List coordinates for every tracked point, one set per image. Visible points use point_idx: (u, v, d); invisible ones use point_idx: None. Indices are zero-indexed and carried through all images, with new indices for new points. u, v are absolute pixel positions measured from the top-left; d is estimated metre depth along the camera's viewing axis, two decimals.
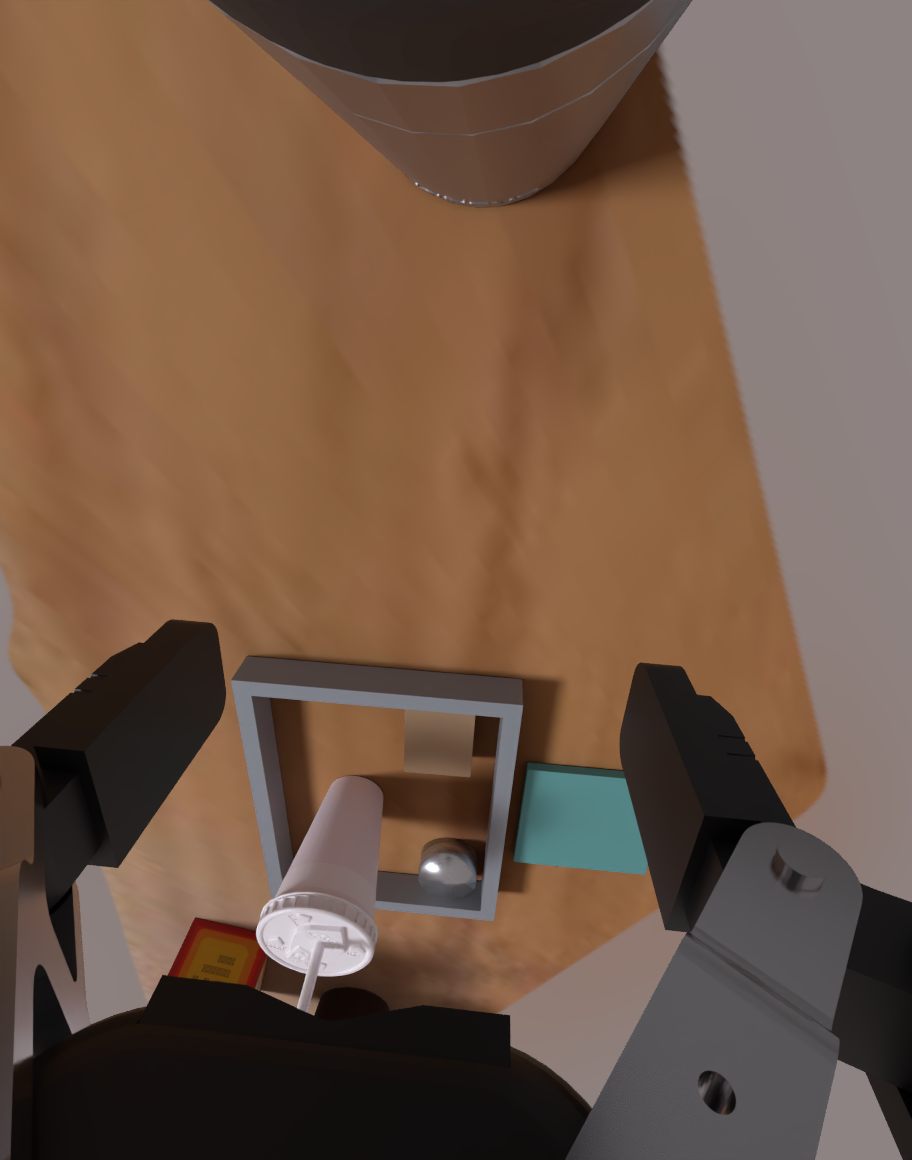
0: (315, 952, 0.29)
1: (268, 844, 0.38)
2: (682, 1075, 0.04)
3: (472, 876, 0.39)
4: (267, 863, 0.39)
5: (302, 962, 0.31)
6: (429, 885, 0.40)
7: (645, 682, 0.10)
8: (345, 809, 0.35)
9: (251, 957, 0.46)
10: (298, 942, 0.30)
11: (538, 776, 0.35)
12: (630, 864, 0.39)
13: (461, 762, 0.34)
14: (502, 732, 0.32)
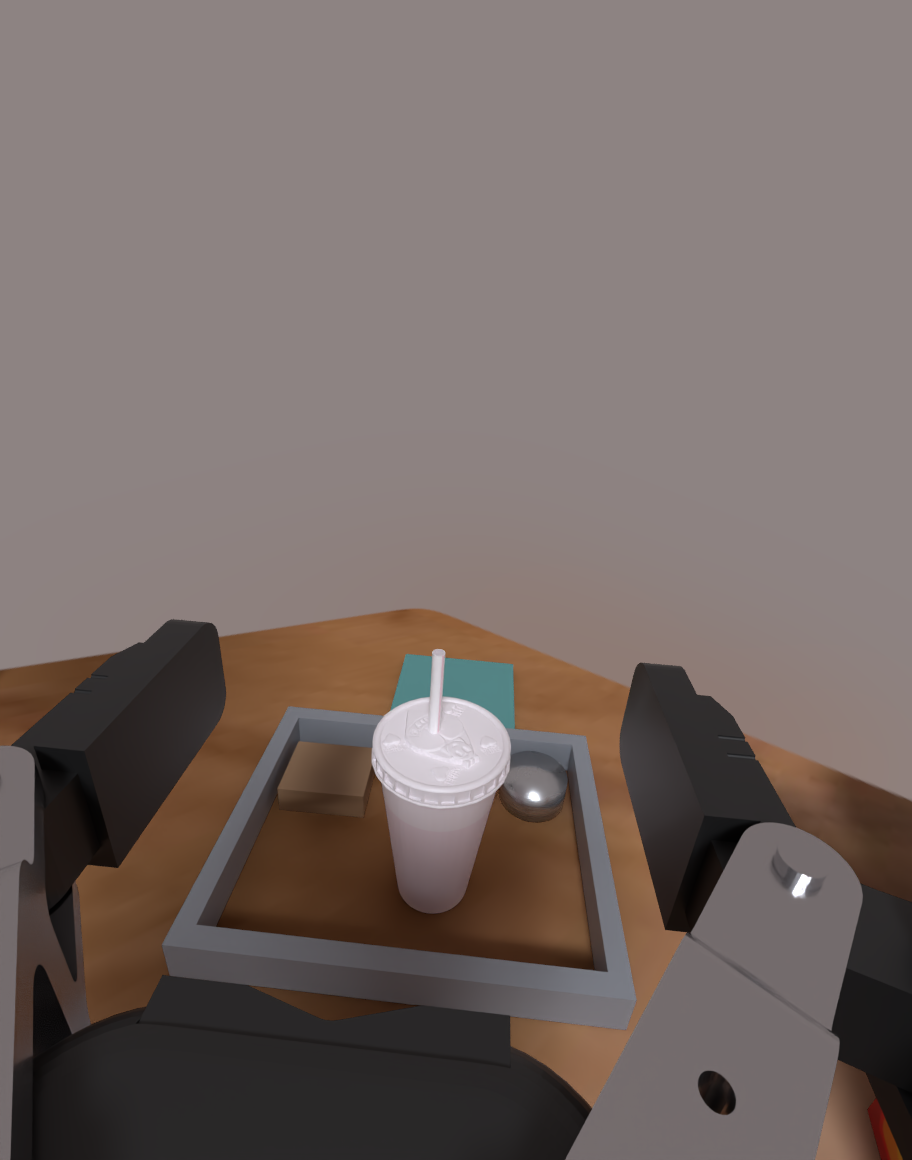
0: (428, 720, 0.26)
1: (488, 971, 0.24)
2: (682, 1075, 0.04)
3: (522, 753, 0.37)
4: (538, 984, 0.24)
5: (484, 756, 0.25)
6: (548, 790, 0.34)
7: (645, 681, 0.10)
8: None
9: None
10: (431, 746, 0.25)
11: None
12: (502, 670, 0.47)
13: (355, 753, 0.36)
14: (314, 718, 0.38)
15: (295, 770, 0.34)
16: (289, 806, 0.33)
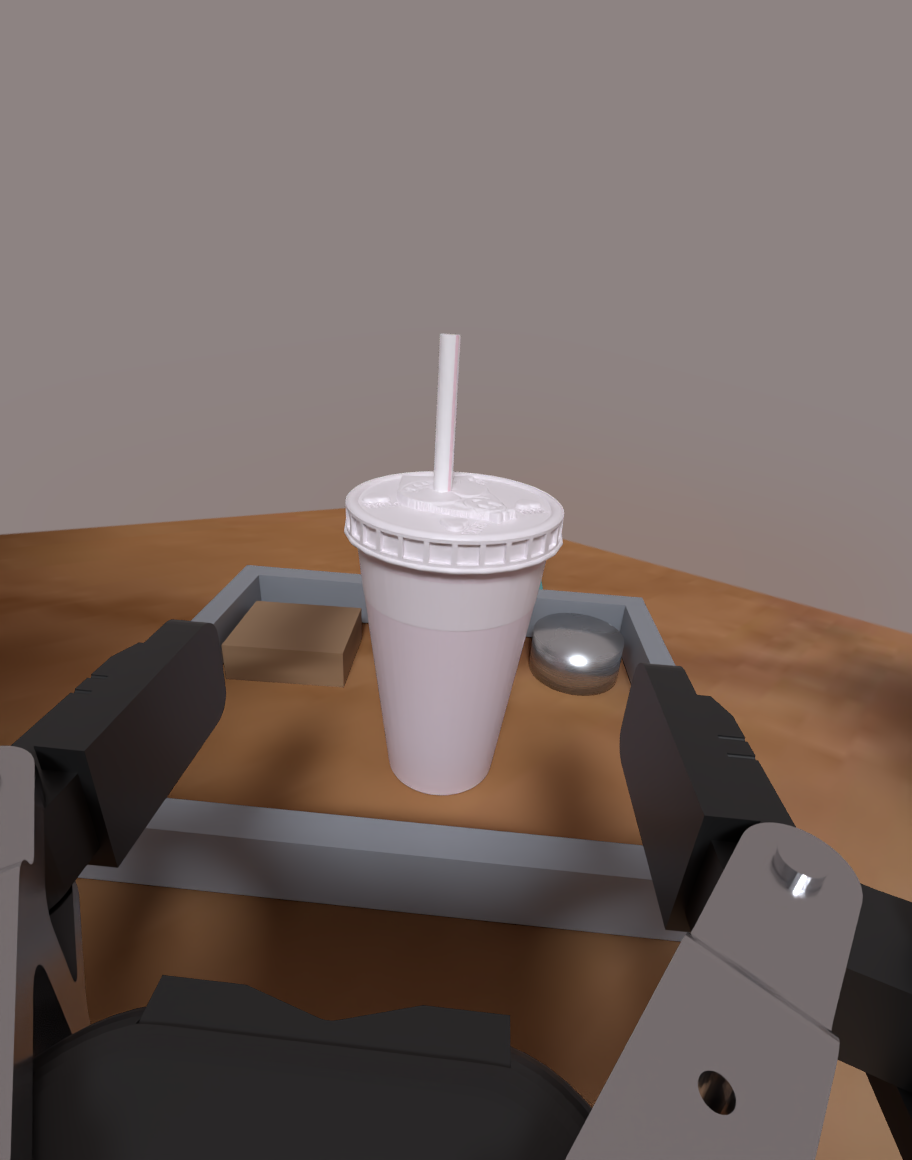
0: (434, 470, 0.17)
1: (535, 852, 0.15)
2: (682, 1075, 0.04)
3: (558, 614, 0.27)
4: (620, 870, 0.14)
5: (524, 515, 0.16)
6: (600, 650, 0.24)
7: (645, 681, 0.10)
8: None
9: None
10: (439, 500, 0.16)
11: None
12: None
13: (333, 612, 0.26)
14: (280, 576, 0.28)
15: (249, 627, 0.25)
16: (239, 672, 0.24)
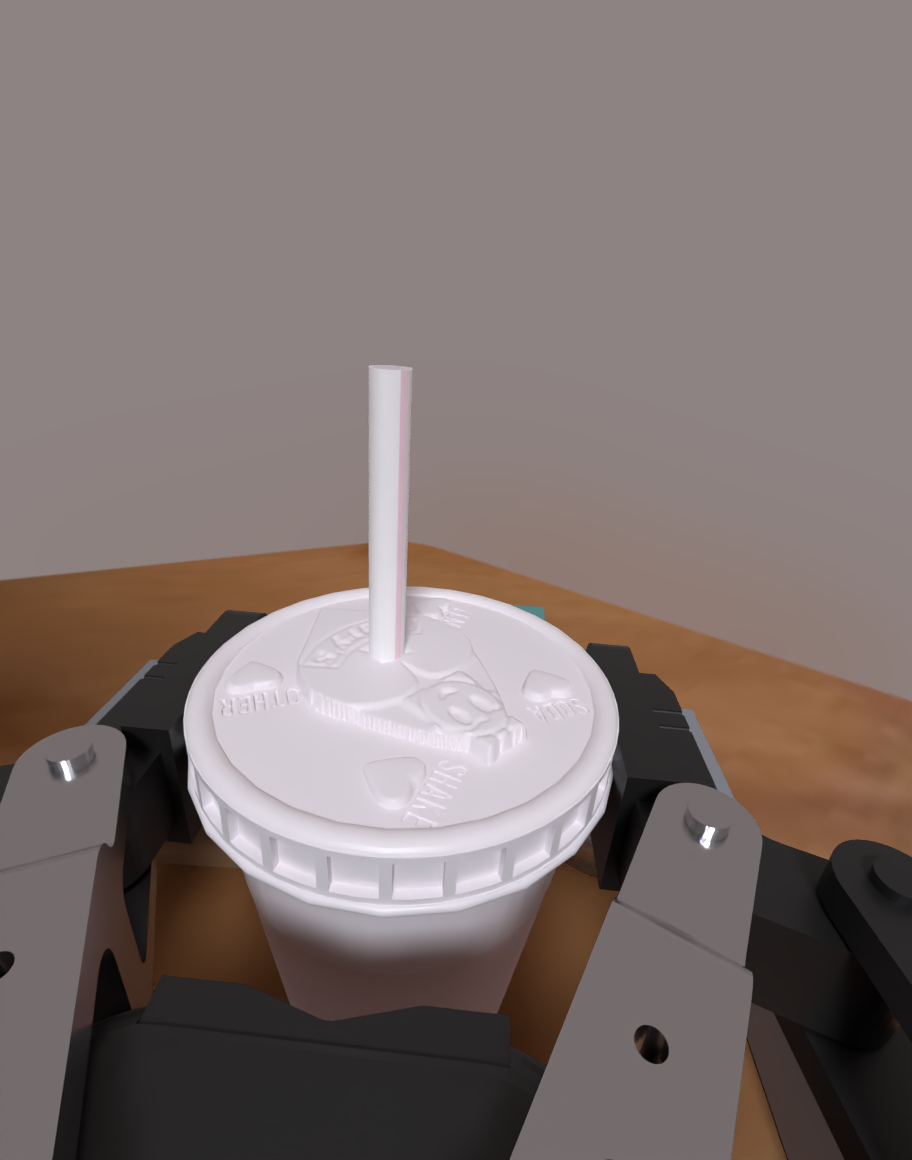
0: (369, 621, 0.09)
1: None
2: (619, 1034, 0.04)
3: None
4: None
5: (542, 727, 0.08)
6: None
7: None
8: None
9: None
10: (373, 695, 0.08)
11: None
12: None
13: None
14: None
15: None
16: None
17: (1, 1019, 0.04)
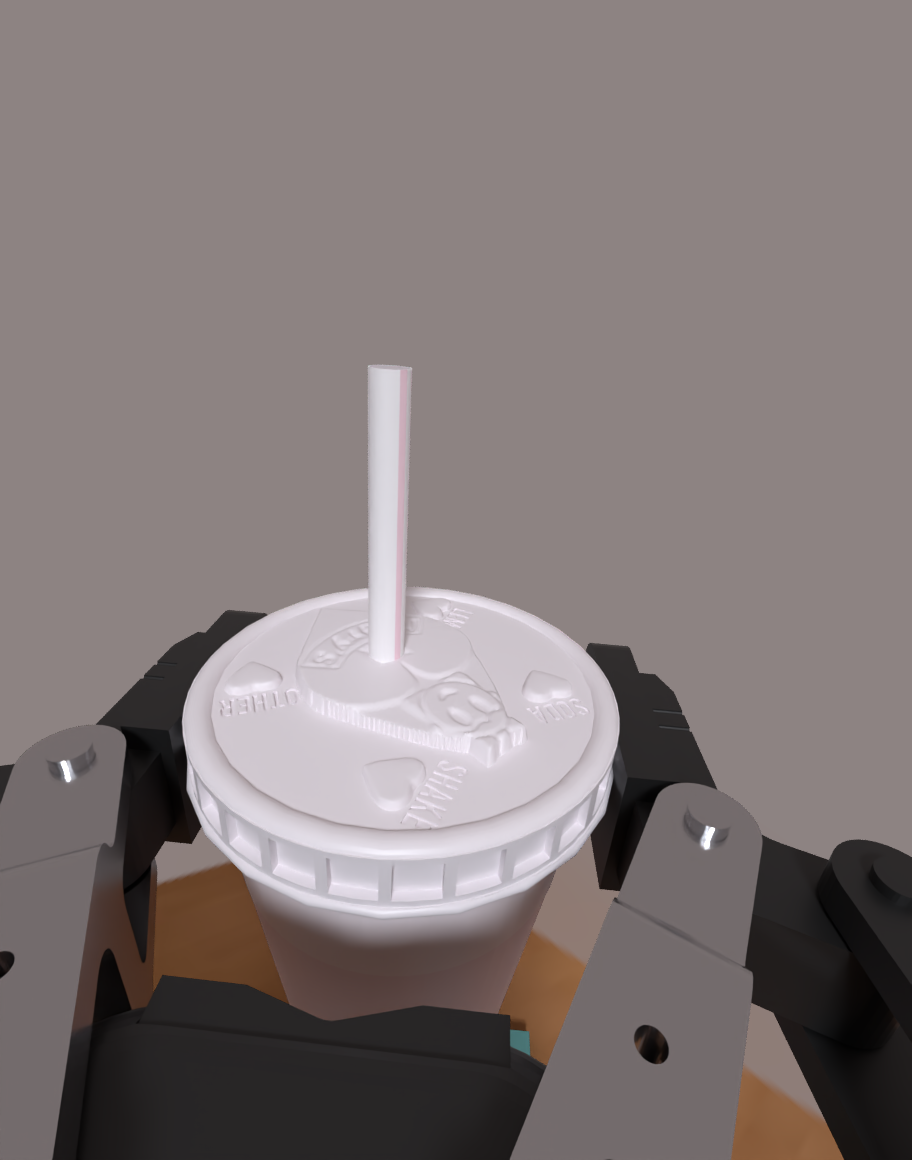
0: (368, 621, 0.09)
1: None
2: (619, 1034, 0.04)
3: None
4: None
5: (542, 728, 0.08)
6: None
7: None
8: None
9: None
10: (373, 695, 0.08)
11: None
12: None
13: None
14: None
15: None
16: None
17: (1, 1019, 0.04)
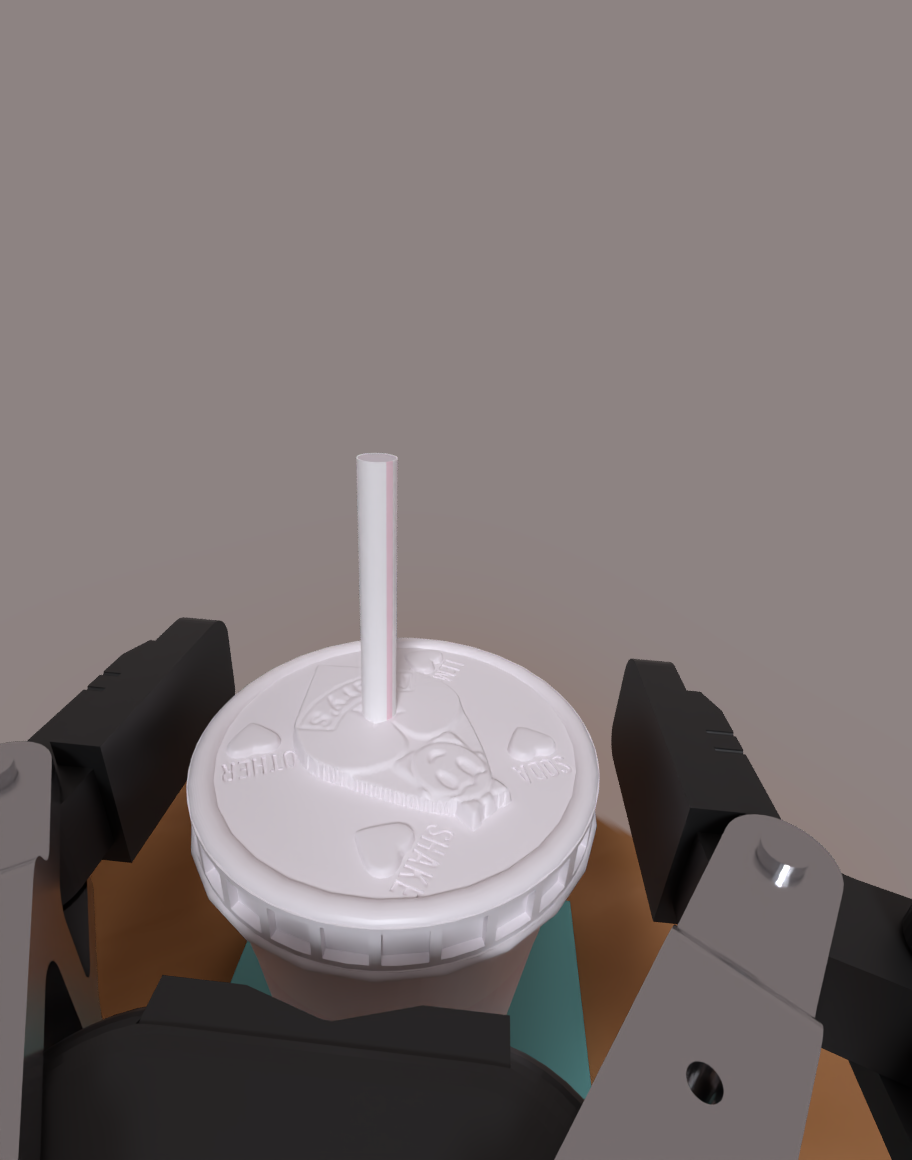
0: (361, 684, 0.09)
1: None
2: (671, 1067, 0.04)
3: None
4: None
5: (525, 788, 0.08)
6: None
7: (636, 677, 0.10)
8: None
9: None
10: (365, 759, 0.08)
11: None
12: (542, 934, 0.16)
13: None
14: None
15: None
16: None
17: None
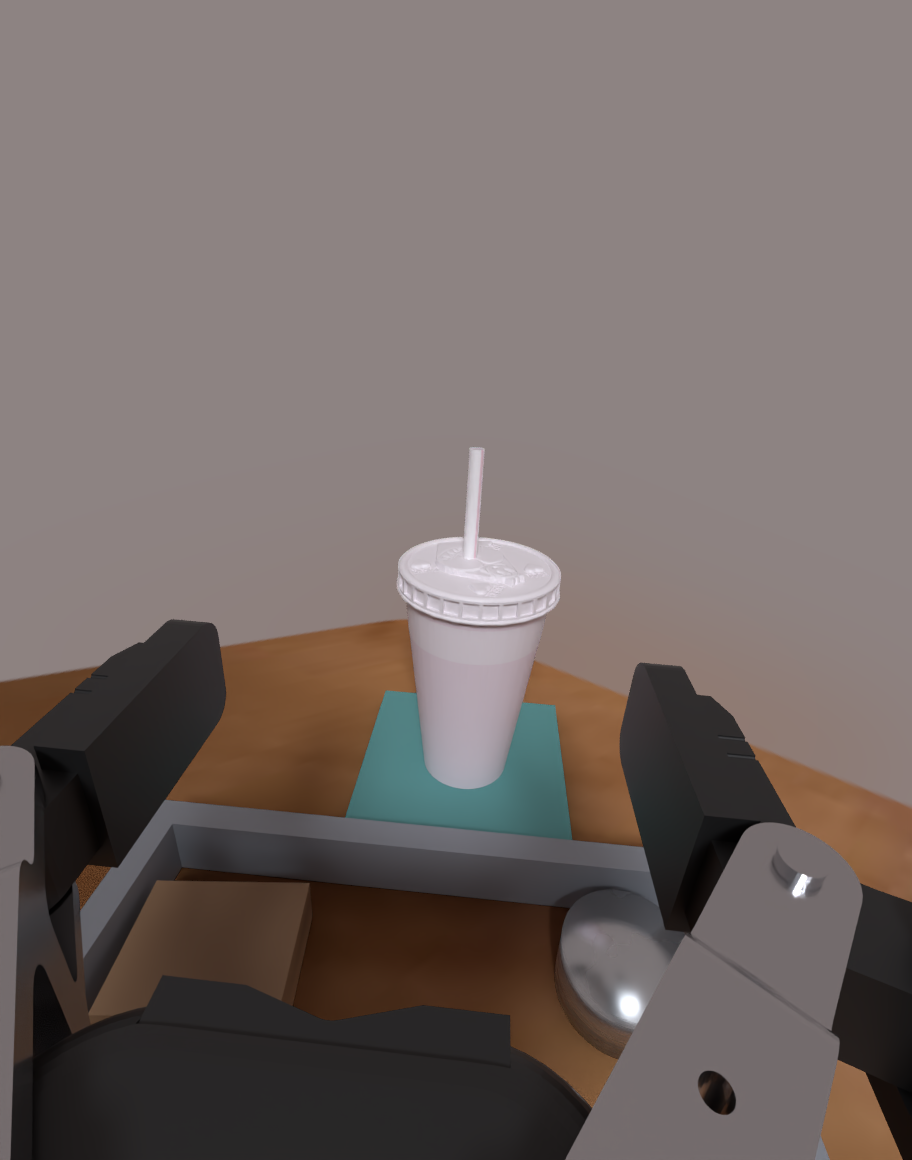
0: (463, 543, 0.22)
1: None
2: (682, 1075, 0.04)
3: (595, 895, 0.19)
4: None
5: (531, 579, 0.21)
6: None
7: (645, 681, 0.10)
8: None
9: None
10: (468, 567, 0.21)
11: (359, 813, 0.23)
12: (539, 717, 0.29)
13: (268, 899, 0.18)
14: (202, 825, 0.20)
15: (137, 957, 0.17)
16: None
17: None
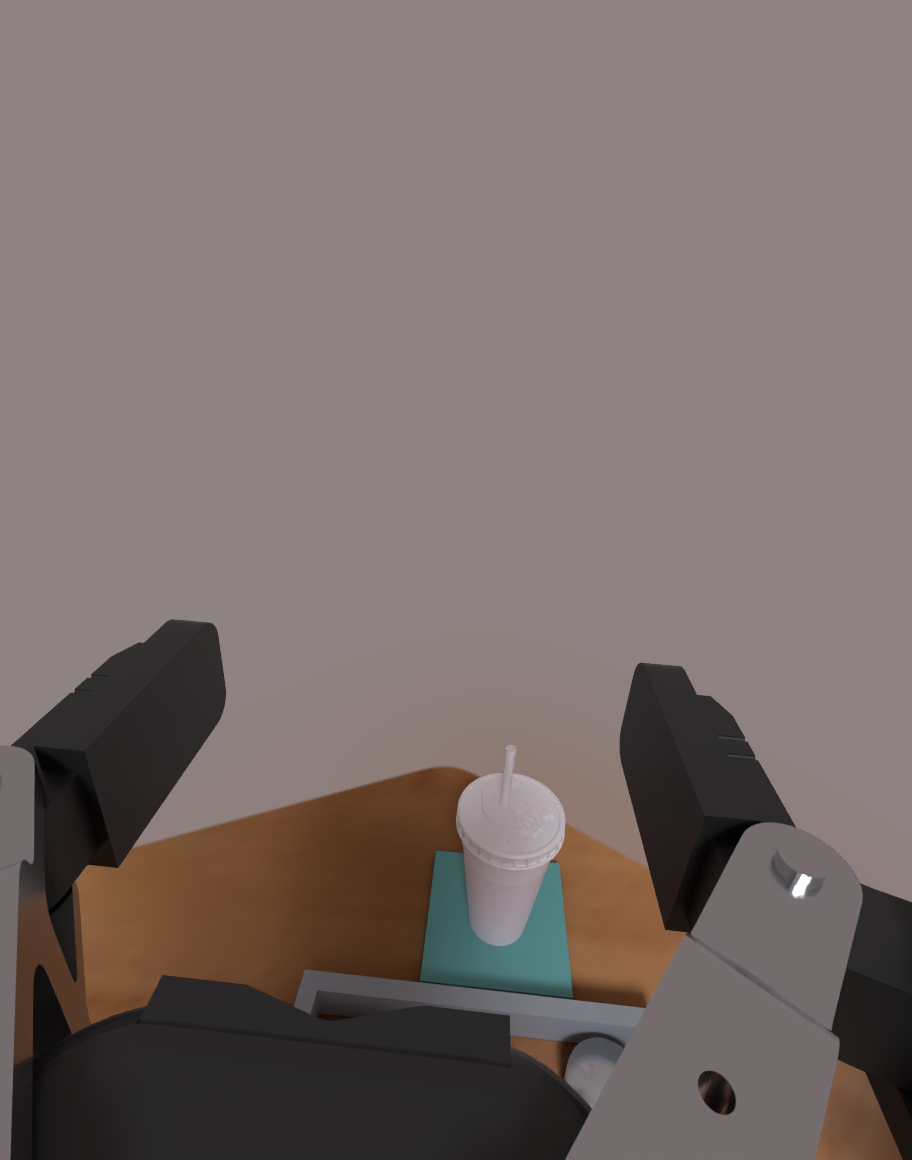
0: (500, 797, 0.33)
1: None
2: (682, 1075, 0.04)
3: (587, 1042, 0.30)
4: None
5: (546, 827, 0.32)
6: None
7: (645, 681, 0.10)
8: None
9: None
10: (504, 819, 0.32)
11: (429, 968, 0.34)
12: (548, 875, 0.40)
13: None
14: (336, 991, 0.31)
15: None
16: None
17: None
